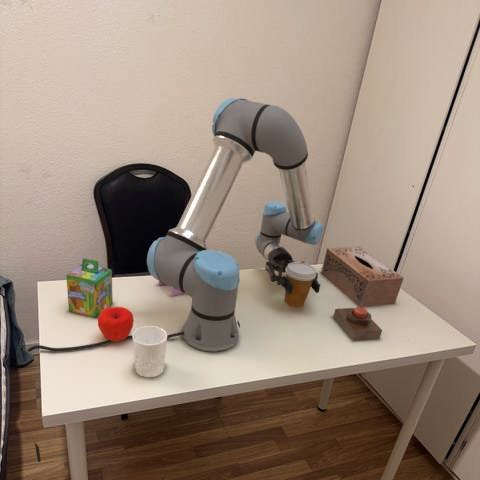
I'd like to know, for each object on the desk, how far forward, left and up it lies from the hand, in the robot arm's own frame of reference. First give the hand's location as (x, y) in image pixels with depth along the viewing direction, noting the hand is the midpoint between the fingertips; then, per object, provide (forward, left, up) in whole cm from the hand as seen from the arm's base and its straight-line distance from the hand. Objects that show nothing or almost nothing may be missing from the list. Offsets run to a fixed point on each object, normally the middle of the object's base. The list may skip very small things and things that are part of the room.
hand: (304, 289), depth 131 cm
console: (+15, -8, -10) cm, 20 cm away
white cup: (-48, -19, -10) cm, 53 cm away
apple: (-55, -5, -10) cm, 56 cm away
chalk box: (-61, +11, -10) cm, 63 cm away
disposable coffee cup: (0, +5, -7) cm, 9 cm away
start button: (+15, -8, -5) cm, 18 cm away
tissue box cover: (+30, +17, -10) cm, 36 cm away
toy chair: (-36, +21, -10) cm, 43 cm away
